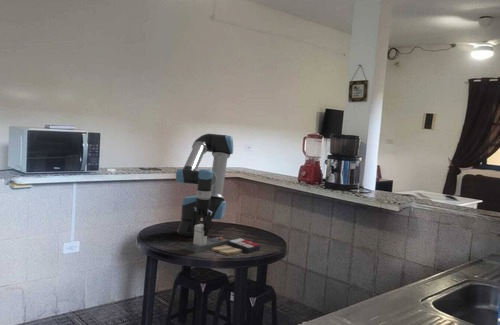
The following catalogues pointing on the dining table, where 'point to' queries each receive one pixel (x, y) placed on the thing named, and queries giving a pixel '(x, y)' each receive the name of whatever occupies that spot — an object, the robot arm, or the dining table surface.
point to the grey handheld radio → (210, 244)
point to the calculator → (244, 245)
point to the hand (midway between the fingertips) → (200, 240)
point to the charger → (199, 235)
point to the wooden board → (226, 250)
